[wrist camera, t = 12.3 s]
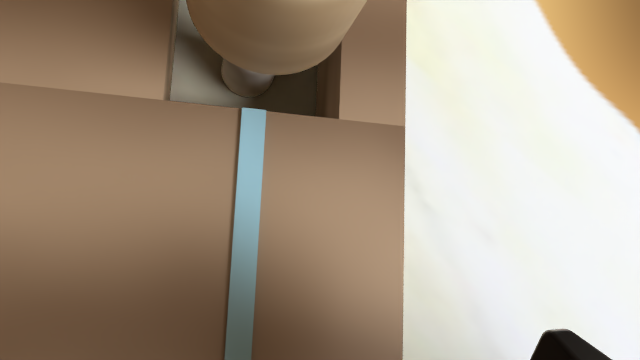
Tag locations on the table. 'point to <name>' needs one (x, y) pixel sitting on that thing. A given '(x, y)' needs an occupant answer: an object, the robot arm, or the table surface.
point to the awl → (270, 36)
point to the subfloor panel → (194, 197)
